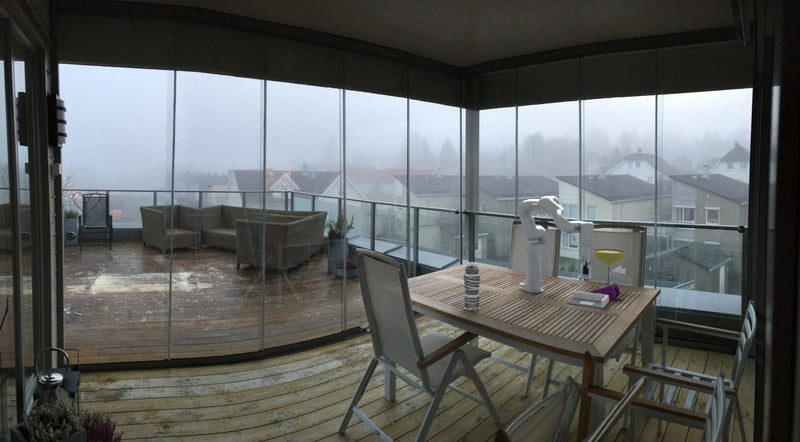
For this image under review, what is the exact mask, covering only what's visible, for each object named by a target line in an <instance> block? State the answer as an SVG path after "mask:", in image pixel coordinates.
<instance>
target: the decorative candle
mask: <svg viewBox="0 0 800 442" xmlns="http://www.w3.org/2000/svg"><path fill="white" fill-rule="evenodd" d="M464 269H465V272H464V275H463V278H464V279H463V280H464V281H463V284H464V289H465V291H464V302H463V303H464V308H465V307H466V308H472V309H473V308H474V309H475V308H479V309H480V291H479V290H480V282H479V281H481V279H480V278H481V276H480V272H479V271H480V270H479V269H480V268H479V265H477V264H467V265H466V266H465V267H464Z"/></svg>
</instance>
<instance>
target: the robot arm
mask: <svg viewBox="0 0 800 442" xmlns="http://www.w3.org/2000/svg"><path fill="white" fill-rule="evenodd" d="M560 204H561V202H560V199H558V197H556V196H553V195H550V196H549V195H547V196H542V197H540V198H538V199H526V200H523V201H521V203H520V204H519V206H518V209H517V212H518V216H519V220H520V222H521V227H522V232H523V237H524V239H525V241H527V242H532V243H529V244H527V245H526V246H525V249H524V256H525V259H526V260H525V261H526V263H525V264H526V265H525V267H526V268H525V269H526V270H525V273H526V274H525V283H522V282H520V283H519V285H520V287H522V288H523V287H524V288H523V291H524V292H527V293H530V294H531V293H533V294H534V293H535V294H538V293H539V294H540V293H543V292H545V291H544V289H543V288H542V261H541V258H543V257H546V256H547V255H549V254H550V250H551V249H550V248H551V247H550V243H549V238H548V234H547V230H546V229H545V228H544V227H543V226H541V225H536V221H535V218H534V217H533V215H532V213H542V212H543V213H546V214H547V215H548V216H549V217H550V218H551V219H553V223H554V225H555V226H556V227H557V229H559V231H561V232H562V233H564V234H567V235H574V234H575V235H576V234H579V242H578V243H579V246H580V249H579V263H580V264H583V274H585V275H588V274H589V268H588V265H590V262H591V261H592V250H593V249H592V248H593V247H594V228H595V226H594V222H592V221H581V220H572V221H571V220H570V221H569V220H568V219H566V218H565V217H564V216H563V215H564V213H565V209H564V208H563V207H562V206H561V205H560Z"/></svg>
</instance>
